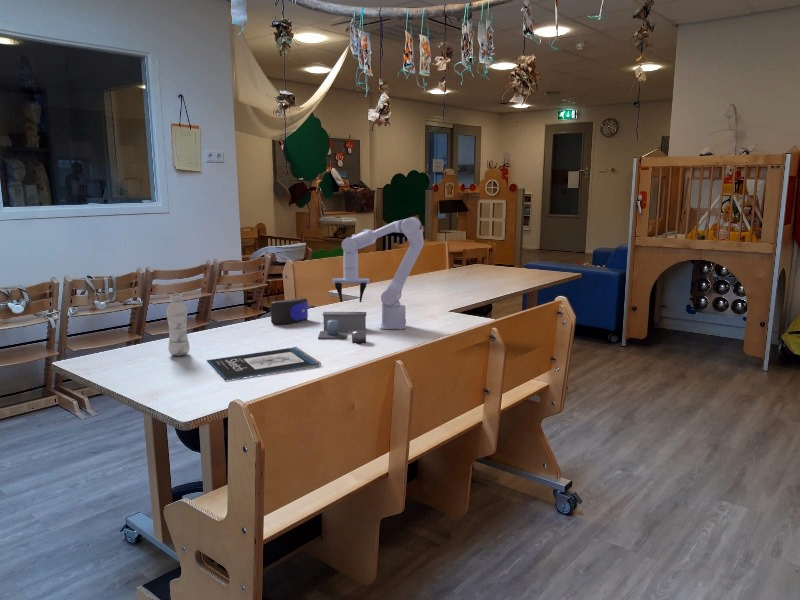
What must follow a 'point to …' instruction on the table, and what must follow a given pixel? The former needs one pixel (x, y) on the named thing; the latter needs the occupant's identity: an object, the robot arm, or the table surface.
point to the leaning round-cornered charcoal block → (289, 311)
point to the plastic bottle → (177, 326)
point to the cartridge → (332, 327)
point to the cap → (359, 336)
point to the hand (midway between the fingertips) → (350, 301)
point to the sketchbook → (263, 363)
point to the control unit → (346, 320)
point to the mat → (325, 336)
